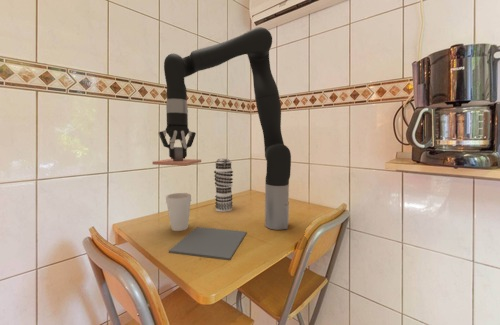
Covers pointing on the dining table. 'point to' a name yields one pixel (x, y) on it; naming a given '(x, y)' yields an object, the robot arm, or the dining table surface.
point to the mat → (210, 243)
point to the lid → (177, 159)
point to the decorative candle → (223, 185)
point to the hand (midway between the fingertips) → (178, 158)
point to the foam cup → (178, 210)
